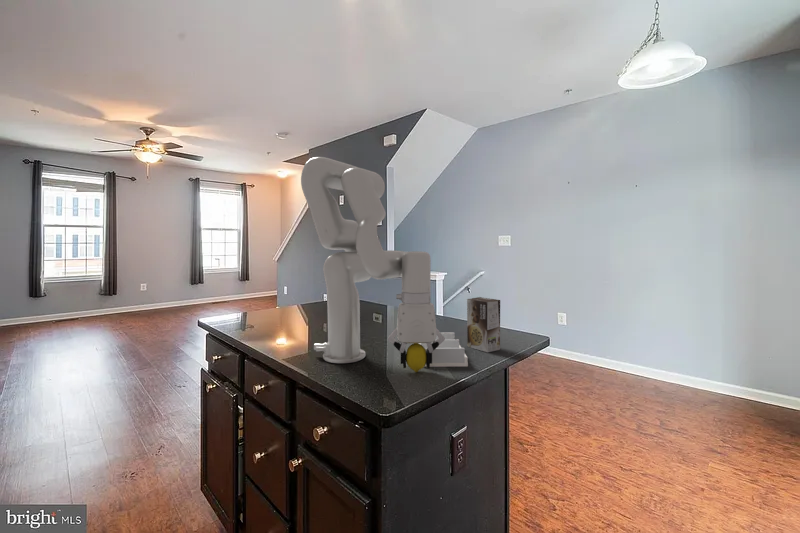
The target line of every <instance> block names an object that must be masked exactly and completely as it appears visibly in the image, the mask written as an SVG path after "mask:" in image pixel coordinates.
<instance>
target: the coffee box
mask: <svg viewBox="0 0 800 533" xmlns="http://www.w3.org/2000/svg"><path fill="white" fill-rule="evenodd" d="M466 319H467V320H466V322H467V323H466V325H467V326H466V328H467V331H466V334H467V338H466V344H467V345H466V346H468V347H467V348H471V349H475V350H478V351H481V352H484V353H491V352H495V351H496V352H497V351H500V350H501V299H497V298H490V297H489V298H488V297H481V296H479V297H478V296H477V297H472V298H467V299H466Z"/></svg>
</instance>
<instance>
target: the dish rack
mask: <svg viewBox="0 0 800 533" xmlns="http://www.w3.org/2000/svg"><path fill="white" fill-rule="evenodd" d="M440 333H441V334H442V335H443V336H444V337H445V340H444V341H443V342H442V343H441V344H439V346H438V347H437V348H436V349H435V350H434V351H433V353H432V364H430V368H431V367H433V368H434V367H437V368H438V367H447V368H448V367H468V366H469V363H468V356H467V354H466V352H465V347H462V345H460V339H458V338H457V339H455V335H456V334H455V332H448V331H447V332H440ZM437 339H438V337H437V336H436V340H437ZM436 340H435V341H436ZM432 343H433V342H432ZM432 343H431V344H432ZM418 344H421V345H422V346H423V347H424V348H425V350H426V351H427V348H428V347H427V344H426V343H418ZM425 367H426V368H428V367H427V366H426V364H425V366H424V367H423V368H425Z"/></svg>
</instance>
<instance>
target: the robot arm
mask: <svg viewBox="0 0 800 533" xmlns="http://www.w3.org/2000/svg"><path fill="white" fill-rule="evenodd" d="M300 176H301V177H300V185H301V189H302V192H303V195H304V198H305V200H306V203H307V205H308V207H309V210H310V214H311V217H312V221H313V224H314V227H315V230H316V233H317V236H318V237H317V238H318V241H319V243H320V245H321V246H322V247H323V248H324V249H326V250H332V251H334V250H335V251H338V252H334V253H332V254H330V255H329V256H328V257H326V259H325V261H324V263H323V267H322V269H323V276H324V281H325V286H326V301H327V302H326V303H327V342H324V343H314V344H313V350H314V351H315V352H323V354H322V359H323V360H324V361H325V362H328V363H332V364H351V363H357V362H359V361H361V360H363V359H364V358H365V357H366V351H365V350H364V349H361V323H360V322H361V321H360V320H361V318H360V317H361V312H360V311H361V310H360V309H361V308H360V307H361V306H360V305H361V304H360V302H361V301H360V300H361V299H360V293H359V290H358V287H357V286H356V283H361V282H366V281H368V280H370V279H371V278H372V279H375V280H380V281H381V280H389V279H397V278H401V292H400V293H396V296H395V297H396V298H395V300H399V301H401V302H400V303H399V304H398V307H397V308H398V309H397V315H396V316H397V317H396V318H397V320H396V328H394V329H393V331H392V332H391V333H390V334H389V335H388V337H387V341H388V342H389V343H390V344H392V345H393V346H394V347H395V349H397V351H399V354H400V365H402V366H403V369H405V368H407V362H406V352H407V350H406V347H407V344H414V343H426V344H427V347H428V348H427V351H426V355H427V361H426V366H427V367H426V368H427V369H430V368H431V367H430V364H432V353H433V351H434V350H435V349H436V348H437V347H438V346H439V344H441V343H442V342H443V341H444V340H445V337H444V336H443V335H442V334H441V333H442V332H440V330H439V329H438V328H437V324H436V323H437V322H436V312H435V305H434V303H432V302H431V264H432V263H431V255H430V253H429V252H427V251H417V250H416V251H405V250H404V251H403V250H392V249H391V250H384V249H383V246H382V244H381V241H380V239H379V236H378V225H379V223H381V222H382V221H383V220H384V219H385V218H386V215H387V214H386V212H387V211H386V210H385V207H384V206H383V204H382V200H381V198H382V196H384V193H385V188H386V187H385V186H386V185H385V181H384V179H383V177H382V176H381V175H380V174H379V173H377V172H375V171H372V170H368V169H367V168H366V169H365V168H362V167H358V166H355V165H353V164H350V163H349V164H348V163H347V162H343V161H340V160H339V161H338V160H335V159H333V158H329V157H324V156H315V157H312V158H309V159H308V160H307V161H306V162H305V164H304V165H303V167H302V171H301V175H300ZM329 189H334V190H339V191H343V193H344V195H345V198H346V200H347V202H348V205H349V206H350V209H351V212H352V214H353V216H354V219H355V220H353V219H346V218H344V217H343V215H342V213H341V210H340V207H339V203H338V201H337V200H336V198H335V197H334V195H333V194H332V193H331V191H330V190H329ZM343 250H344V251H343ZM436 336H437V337H438V339H437V340H436ZM395 337H396V338H397V340H396V339H395ZM435 340H436V341H435ZM432 342H433V343H432ZM431 343H432V344H431Z"/></svg>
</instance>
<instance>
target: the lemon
mask: <svg viewBox="0 0 800 533" xmlns="http://www.w3.org/2000/svg"><path fill="white" fill-rule="evenodd" d="M426 361H427V355H426V350H425V348H424V347H423V346H422V345H421V344H418V343H411V344H410V345H409V346H408V347H407V349H406V366H408V368H409V369H410V370H413V371H414V372H415V373H418V372H419V371H420V370H423V368H425V367H424V366H425V364H426Z"/></svg>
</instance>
